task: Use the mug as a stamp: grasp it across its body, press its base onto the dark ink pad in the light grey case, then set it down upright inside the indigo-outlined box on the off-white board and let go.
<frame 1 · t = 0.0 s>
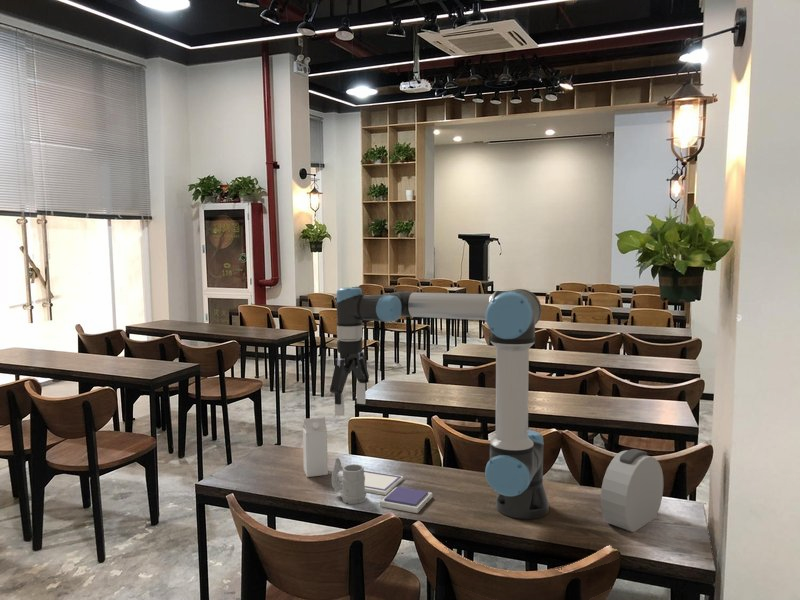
hand: (350, 409, 184), 28 cm above the table, fingers open, 13 cm apart
mug: (348, 498, 188), on the table
milk carton: (315, 473, 209), on the table
alarm clock: (632, 521, 171), on the table
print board: (372, 483, 199), on the table
ink pad: (406, 501, 184), on the table
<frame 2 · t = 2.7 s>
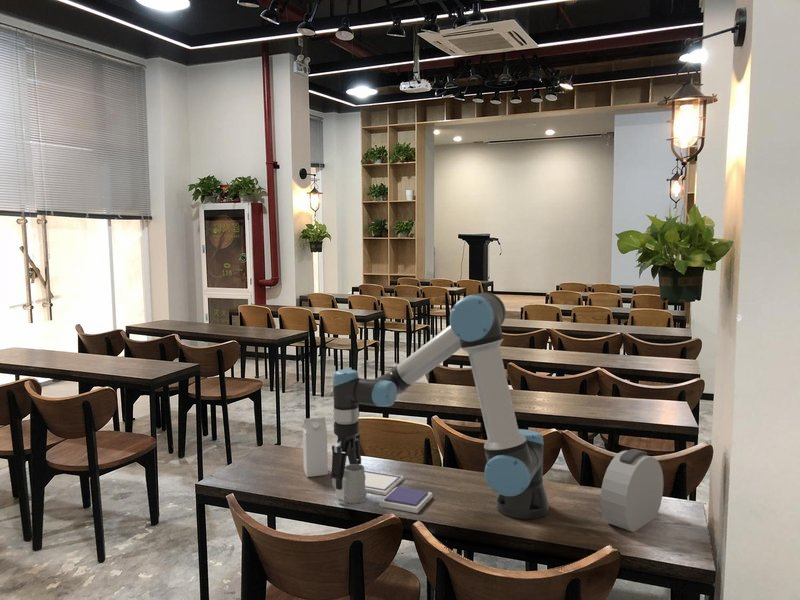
hand: (347, 493, 188), 1 cm above the table, fingers closed on mug, 7 cm apart
mug: (348, 498, 188), on the table, touching gripper
everything else where it was.
when the fingers open (3 cm above the table, at t = 12.3 s): mug stays where it is, resting on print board.
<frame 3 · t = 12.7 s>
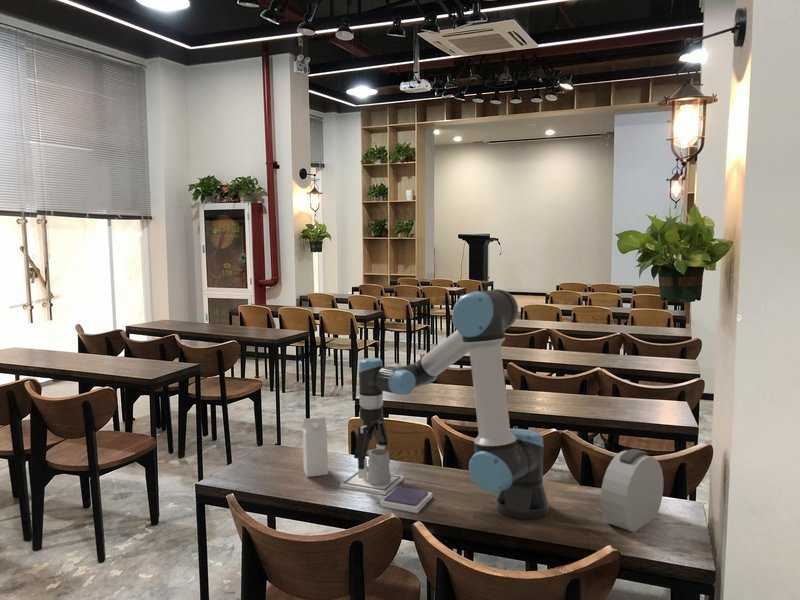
hand: (372, 471, 199), 4 cm above the table, fingers open, 12 cm apart
mug: (373, 480, 199), point 1 cm above the table, touching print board
everything else where it was.
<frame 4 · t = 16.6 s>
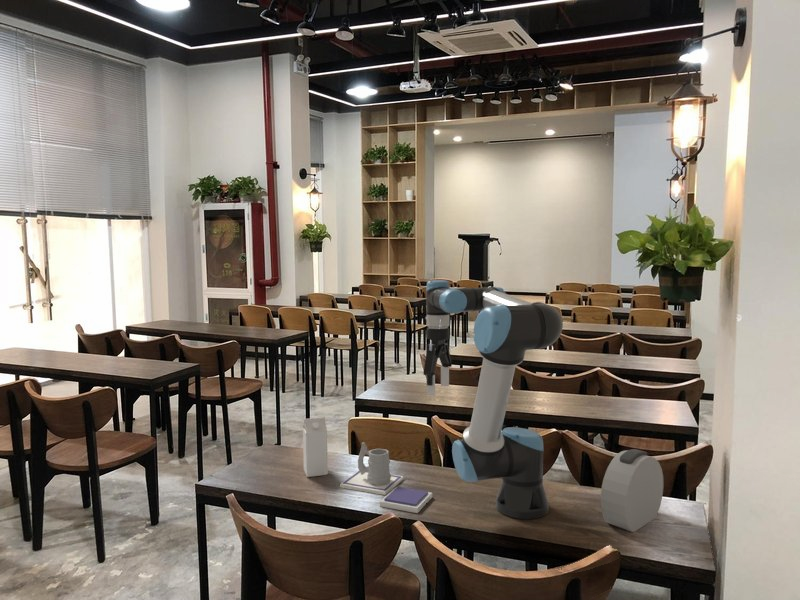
hand: (438, 390, 204), 29 cm above the table, fingers open, 13 cm apart
nothing on the table moved.
at the end: mug inside the target area on the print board (0.5 cm from its centre), point 0.8 cm above the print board's base; mug tilted 0°; the gripper is holding nothing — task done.
